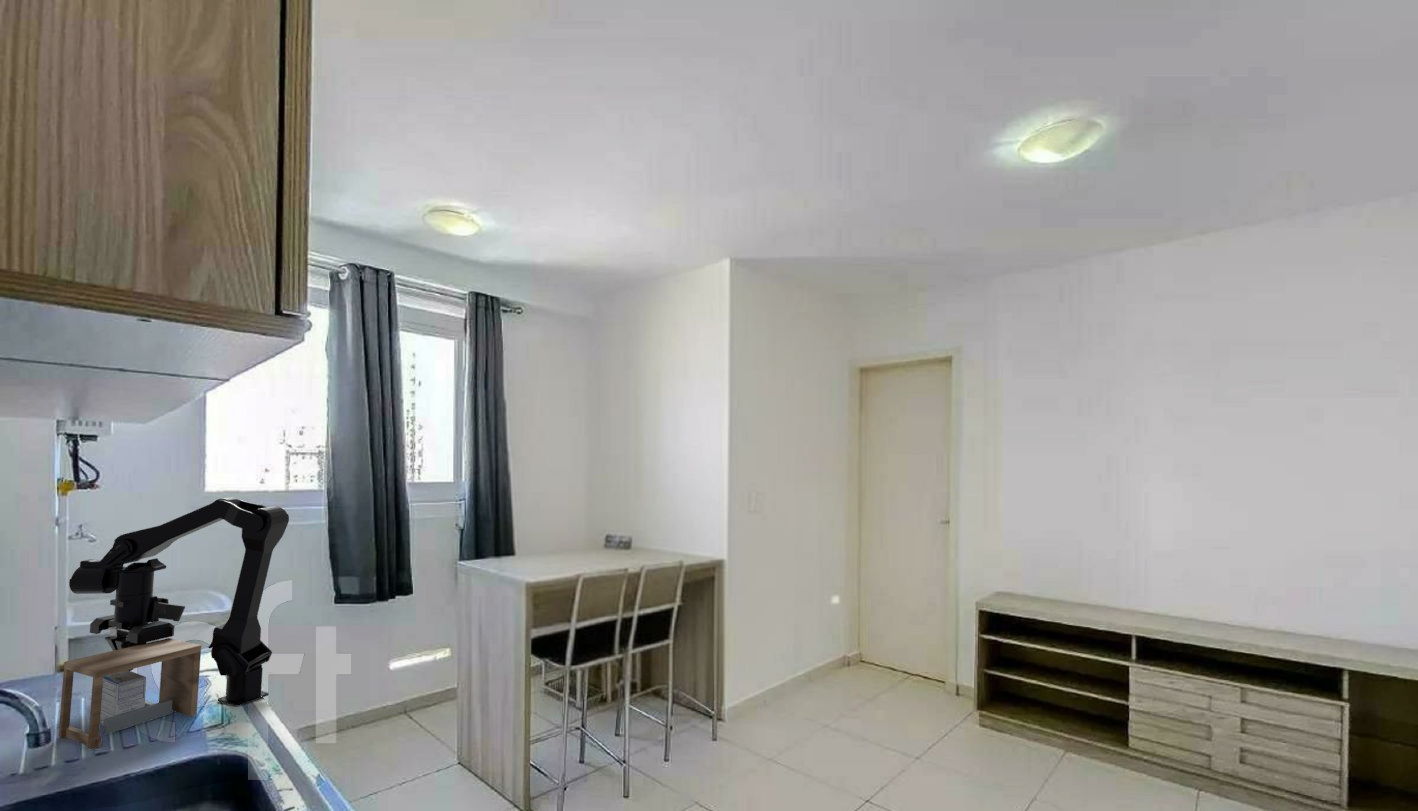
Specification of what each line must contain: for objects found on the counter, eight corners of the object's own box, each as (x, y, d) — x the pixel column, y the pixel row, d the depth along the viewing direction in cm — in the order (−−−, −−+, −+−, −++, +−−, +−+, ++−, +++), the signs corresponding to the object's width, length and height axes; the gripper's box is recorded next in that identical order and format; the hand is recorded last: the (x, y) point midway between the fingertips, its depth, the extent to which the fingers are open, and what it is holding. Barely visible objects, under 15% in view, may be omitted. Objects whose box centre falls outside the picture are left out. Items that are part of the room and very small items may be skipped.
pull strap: (177, 712, 123) (179, 680, 124) (105, 735, 113) (108, 700, 114) (113, 692, 132) (116, 663, 133) (42, 712, 122) (45, 680, 123)
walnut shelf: (196, 714, 123) (201, 645, 124) (90, 749, 109) (96, 671, 109) (164, 704, 128) (169, 638, 128) (58, 737, 113) (64, 661, 114)
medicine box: (144, 723, 119) (147, 676, 120) (113, 732, 115) (117, 683, 116) (125, 714, 123) (128, 669, 123) (95, 723, 119) (98, 676, 119)
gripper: (205, 589, 134) (200, 665, 133) (155, 581, 141) (150, 653, 140) (141, 601, 124) (135, 682, 123) (91, 591, 131) (85, 668, 130)
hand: (129, 670), depth 129 cm, fingers closed
